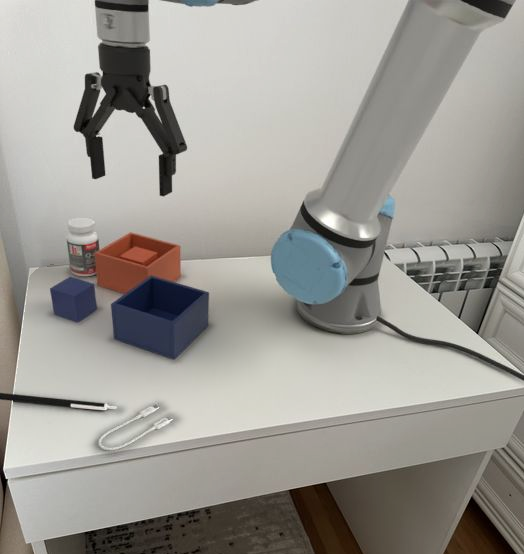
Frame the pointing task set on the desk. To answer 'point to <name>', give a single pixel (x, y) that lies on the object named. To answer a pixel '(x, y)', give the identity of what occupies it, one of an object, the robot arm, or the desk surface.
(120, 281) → the terracotta bin
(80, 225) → the pill bottle
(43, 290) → the desk surface
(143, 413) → the electronic cable
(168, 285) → the navy bin
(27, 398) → the pen
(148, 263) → the terracotta block
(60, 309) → the navy block
